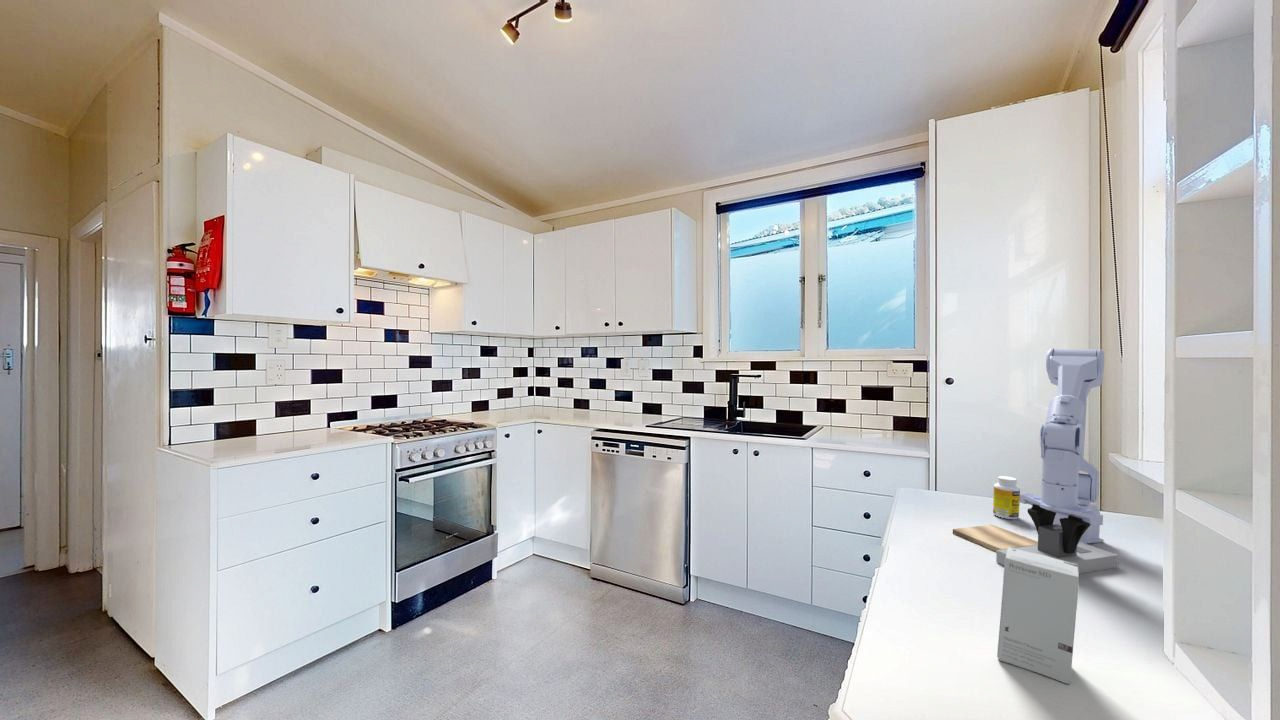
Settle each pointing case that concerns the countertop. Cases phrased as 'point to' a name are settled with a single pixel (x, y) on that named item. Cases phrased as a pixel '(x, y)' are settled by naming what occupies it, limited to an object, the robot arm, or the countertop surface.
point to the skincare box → (1038, 613)
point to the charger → (1052, 541)
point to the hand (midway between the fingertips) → (1057, 548)
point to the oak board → (994, 537)
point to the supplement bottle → (1006, 498)
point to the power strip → (1075, 557)
